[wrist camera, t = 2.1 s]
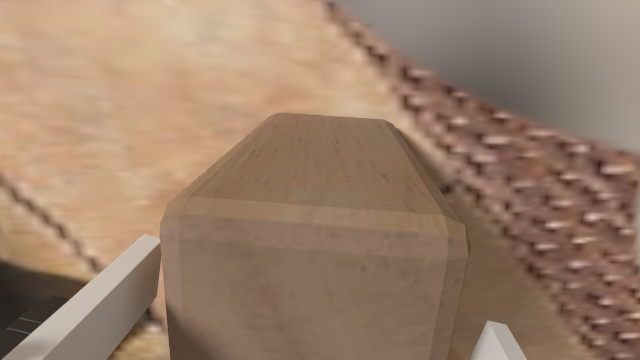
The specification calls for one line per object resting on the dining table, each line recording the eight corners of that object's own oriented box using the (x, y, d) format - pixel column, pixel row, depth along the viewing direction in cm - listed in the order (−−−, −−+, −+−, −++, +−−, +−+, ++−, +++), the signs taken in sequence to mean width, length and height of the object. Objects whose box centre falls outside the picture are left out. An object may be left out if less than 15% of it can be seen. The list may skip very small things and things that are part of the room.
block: (395, 118, 30) (488, 232, 11) (381, 233, 33) (434, 477, 14) (269, 110, 30) (142, 205, 11) (267, 224, 33) (167, 451, 14)
